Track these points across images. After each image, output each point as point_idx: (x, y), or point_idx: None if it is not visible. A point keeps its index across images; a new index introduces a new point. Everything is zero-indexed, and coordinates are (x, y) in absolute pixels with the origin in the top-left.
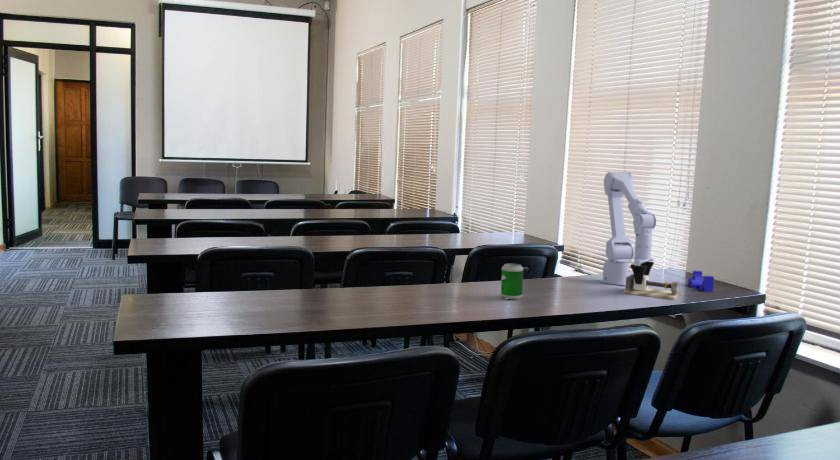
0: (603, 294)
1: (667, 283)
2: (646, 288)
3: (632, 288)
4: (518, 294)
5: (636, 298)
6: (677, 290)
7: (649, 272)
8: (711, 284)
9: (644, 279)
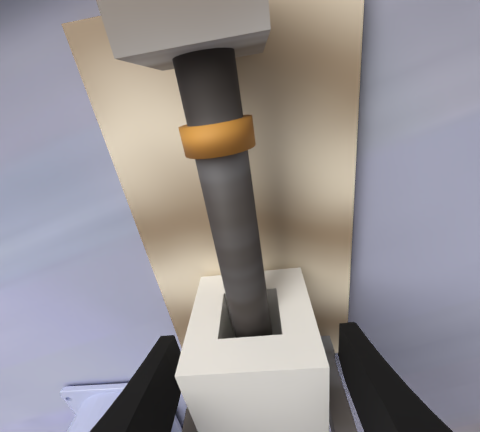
0: (429, 382)
1: (225, 122)
2: None
3: None
4: None
5: (456, 244)
6: None
7: (112, 413)
8: None
9: (322, 351)
